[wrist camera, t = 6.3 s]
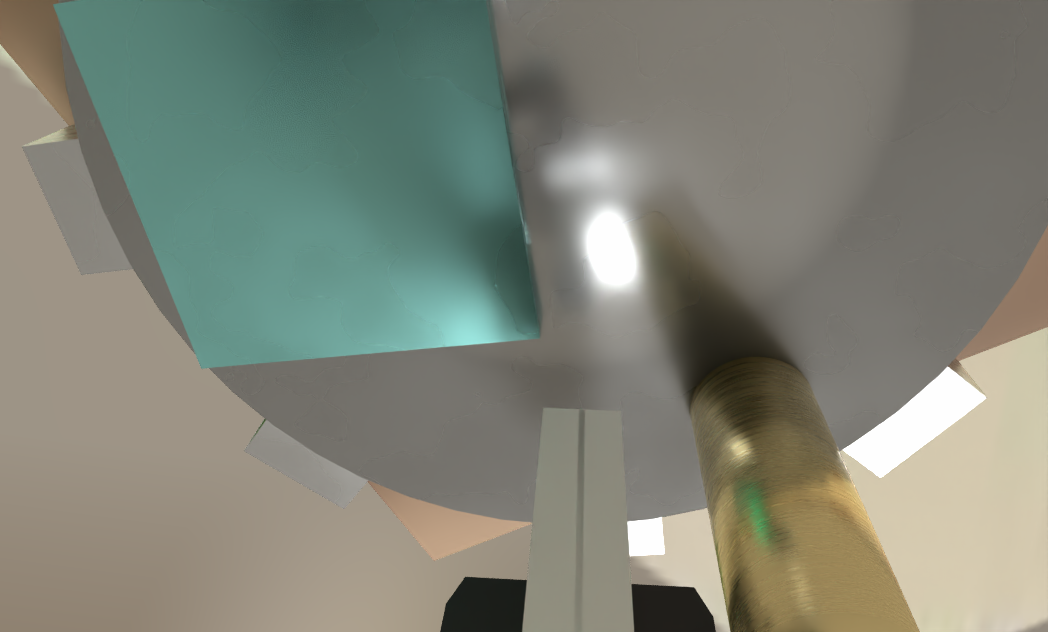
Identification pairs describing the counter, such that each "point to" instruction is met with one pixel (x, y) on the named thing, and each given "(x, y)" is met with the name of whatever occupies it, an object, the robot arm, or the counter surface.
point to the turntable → (576, 243)
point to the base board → (34, 44)
